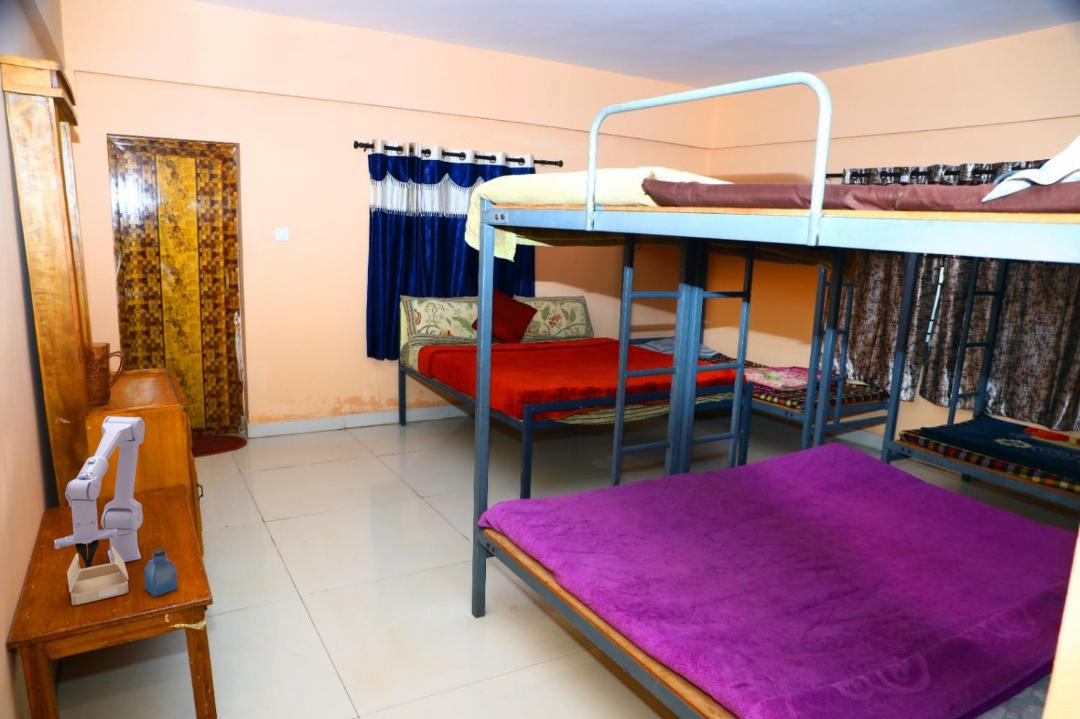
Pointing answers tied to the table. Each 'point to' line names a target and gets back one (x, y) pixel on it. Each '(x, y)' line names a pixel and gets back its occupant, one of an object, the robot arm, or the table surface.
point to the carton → (99, 584)
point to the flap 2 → (120, 562)
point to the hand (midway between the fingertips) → (88, 565)
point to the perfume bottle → (160, 574)
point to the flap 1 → (73, 572)
